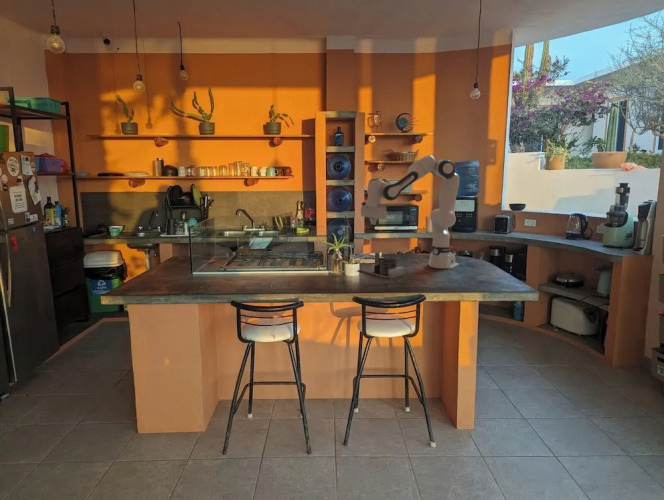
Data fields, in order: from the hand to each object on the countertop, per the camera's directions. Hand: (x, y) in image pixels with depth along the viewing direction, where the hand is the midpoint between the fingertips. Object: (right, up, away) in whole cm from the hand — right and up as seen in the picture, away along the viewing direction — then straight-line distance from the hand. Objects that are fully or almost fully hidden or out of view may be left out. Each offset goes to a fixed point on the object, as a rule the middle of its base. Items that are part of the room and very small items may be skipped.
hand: (373, 224), depth 295 cm
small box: (+8, -33, -13) cm, 36 cm away
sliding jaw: (+2, -31, -7) cm, 32 cm away
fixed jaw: (+4, -31, -9) cm, 33 cm away
